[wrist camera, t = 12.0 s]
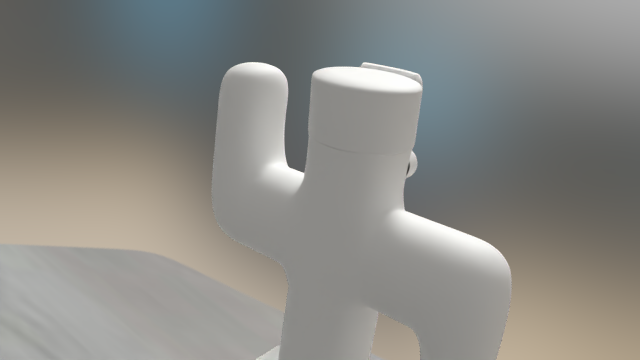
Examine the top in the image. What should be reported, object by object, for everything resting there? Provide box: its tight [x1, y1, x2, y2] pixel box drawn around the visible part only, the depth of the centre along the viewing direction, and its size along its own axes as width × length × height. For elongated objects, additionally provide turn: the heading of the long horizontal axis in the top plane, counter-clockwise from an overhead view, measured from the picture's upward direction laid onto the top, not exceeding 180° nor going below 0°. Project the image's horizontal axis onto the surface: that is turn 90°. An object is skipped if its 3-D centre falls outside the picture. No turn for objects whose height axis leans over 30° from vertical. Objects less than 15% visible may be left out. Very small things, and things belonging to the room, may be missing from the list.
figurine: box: [212, 62, 512, 360], centre depth 17 cm, size 7×9×15 cm
